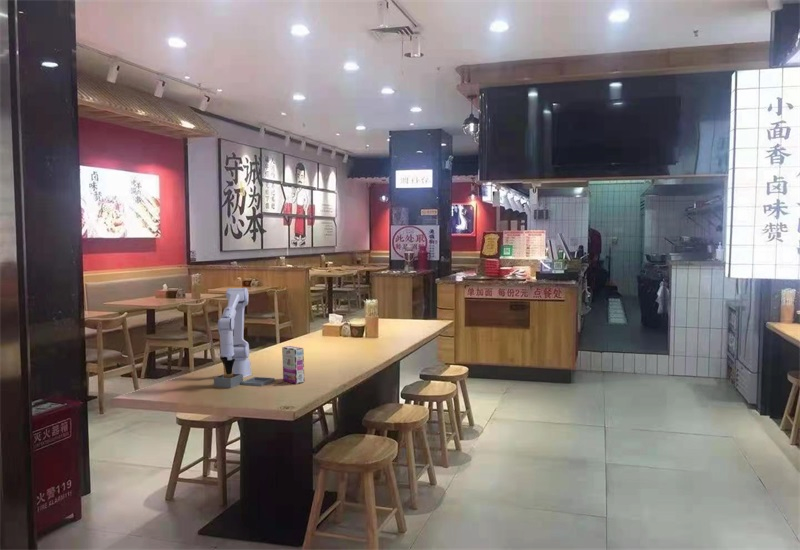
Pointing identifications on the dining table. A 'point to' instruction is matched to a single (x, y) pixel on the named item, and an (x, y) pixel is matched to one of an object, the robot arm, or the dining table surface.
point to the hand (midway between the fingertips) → (228, 373)
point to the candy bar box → (293, 364)
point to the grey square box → (228, 381)
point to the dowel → (227, 374)
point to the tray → (257, 381)
